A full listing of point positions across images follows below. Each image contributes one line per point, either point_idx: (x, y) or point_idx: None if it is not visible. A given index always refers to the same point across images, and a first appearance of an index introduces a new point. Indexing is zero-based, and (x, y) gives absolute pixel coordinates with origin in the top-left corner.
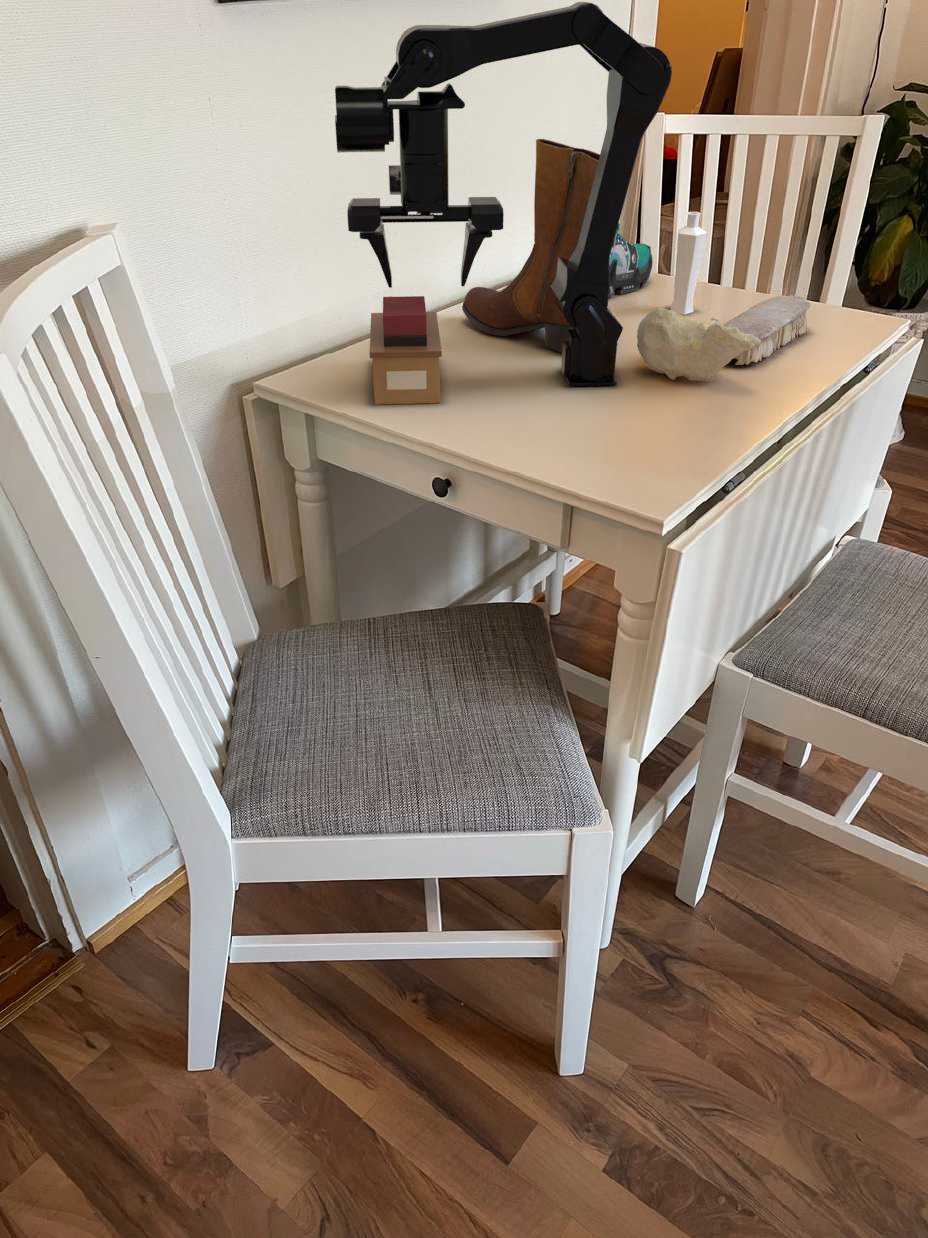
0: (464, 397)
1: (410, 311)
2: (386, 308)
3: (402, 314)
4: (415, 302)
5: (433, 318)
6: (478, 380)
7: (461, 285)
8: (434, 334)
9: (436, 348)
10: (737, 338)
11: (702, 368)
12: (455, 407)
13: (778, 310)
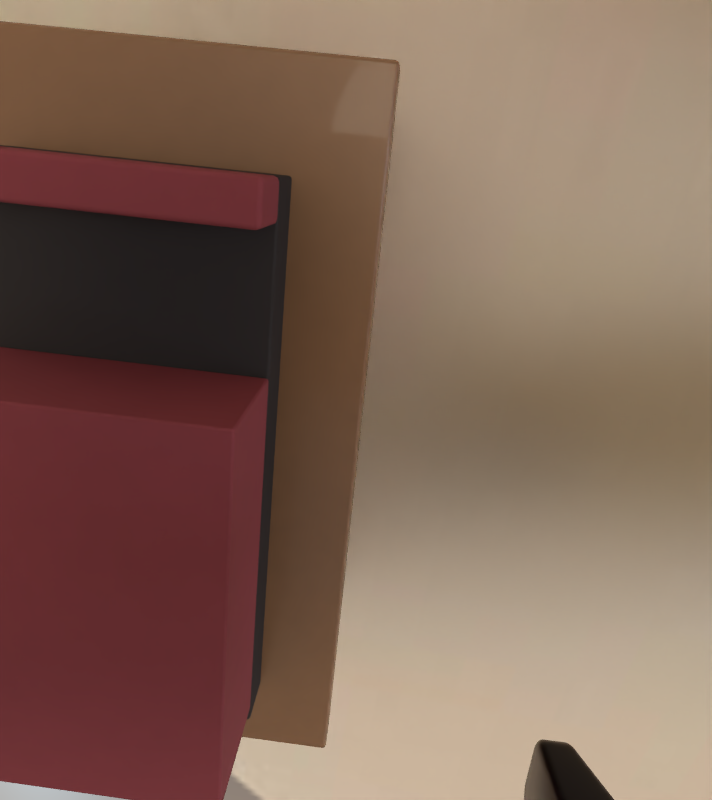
0: (439, 544)
1: (118, 741)
2: None
3: (68, 779)
4: (155, 577)
5: (353, 234)
6: (538, 391)
7: (524, 798)
8: (319, 536)
9: (303, 718)
10: None
11: None
12: (389, 616)
13: None
